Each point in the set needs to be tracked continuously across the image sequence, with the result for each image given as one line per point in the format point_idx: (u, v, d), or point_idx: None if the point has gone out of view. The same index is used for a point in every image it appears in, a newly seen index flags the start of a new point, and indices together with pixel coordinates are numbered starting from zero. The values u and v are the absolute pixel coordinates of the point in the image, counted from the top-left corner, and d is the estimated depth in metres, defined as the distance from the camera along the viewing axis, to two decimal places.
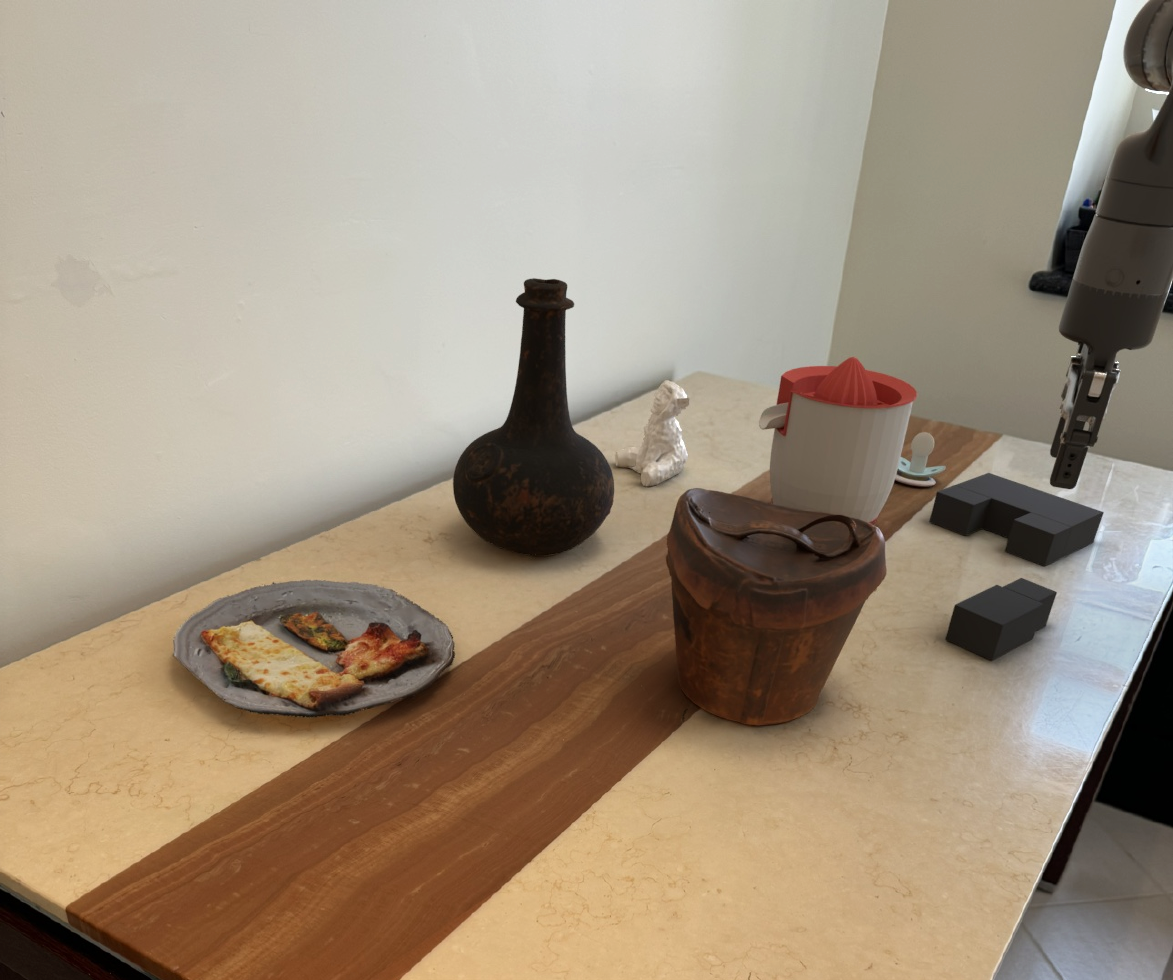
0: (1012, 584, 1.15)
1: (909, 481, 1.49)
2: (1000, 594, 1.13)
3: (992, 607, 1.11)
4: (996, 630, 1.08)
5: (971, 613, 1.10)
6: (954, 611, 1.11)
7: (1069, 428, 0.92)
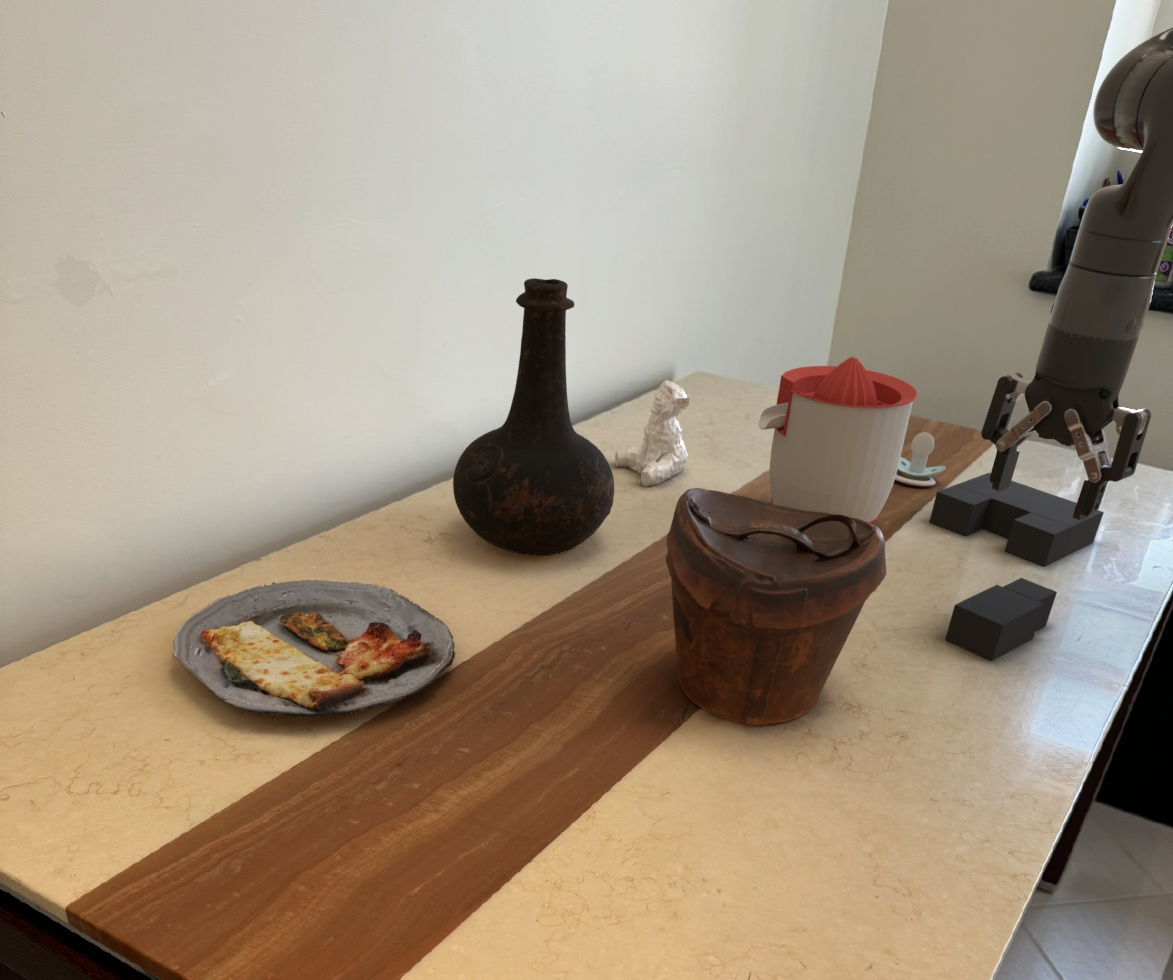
0: (1012, 584, 1.15)
1: (909, 481, 1.49)
2: (1000, 594, 1.13)
3: (992, 607, 1.11)
4: (996, 630, 1.08)
5: (971, 613, 1.10)
6: (954, 611, 1.11)
7: (1125, 468, 0.97)
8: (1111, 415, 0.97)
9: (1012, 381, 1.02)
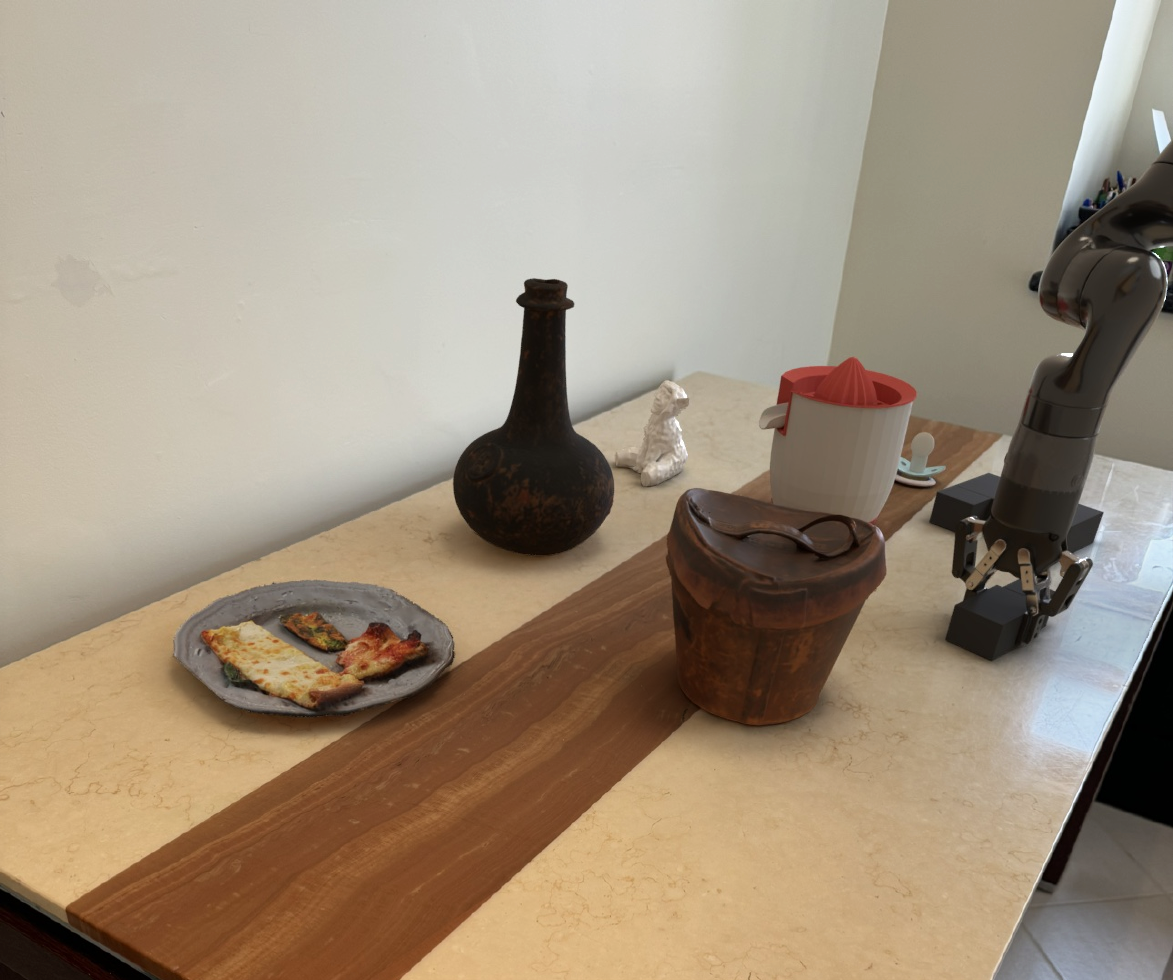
0: (1012, 584, 1.15)
1: (909, 481, 1.49)
2: (1000, 594, 1.13)
3: (992, 607, 1.11)
4: (996, 630, 1.08)
5: (971, 613, 1.10)
6: (954, 611, 1.11)
7: (1060, 608, 1.07)
8: (1059, 555, 1.05)
9: (969, 524, 1.11)
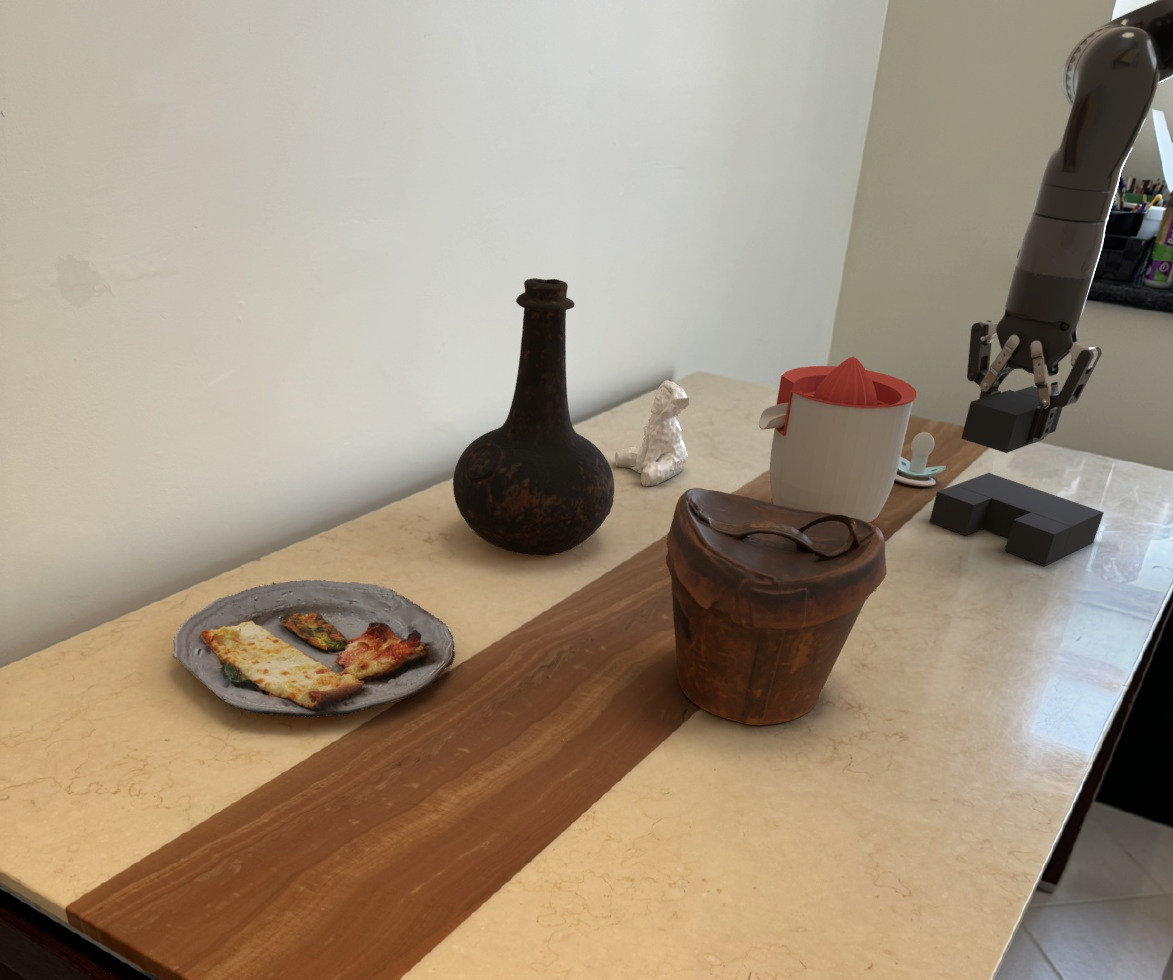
0: (1024, 390, 1.22)
1: (909, 481, 1.49)
2: (1013, 396, 1.20)
3: (1005, 403, 1.17)
4: (1010, 421, 1.15)
5: (986, 407, 1.16)
6: (970, 408, 1.18)
7: (1070, 397, 1.13)
8: (1070, 345, 1.12)
9: (983, 326, 1.18)
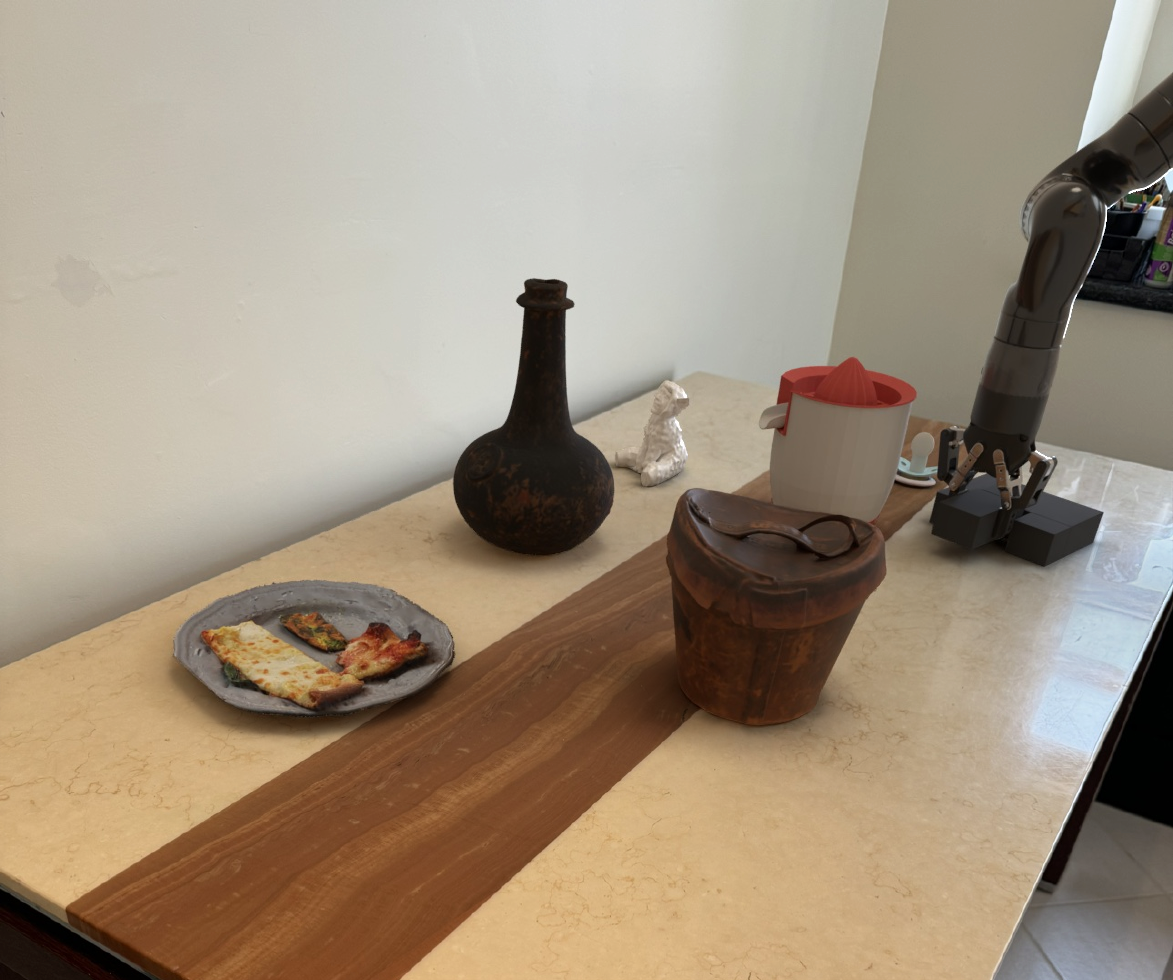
0: (990, 488, 1.32)
1: (909, 481, 1.49)
2: (979, 494, 1.30)
3: (971, 503, 1.27)
4: (974, 522, 1.25)
5: (953, 508, 1.26)
6: (938, 507, 1.28)
7: (1029, 501, 1.23)
8: (1029, 455, 1.22)
9: (951, 432, 1.28)
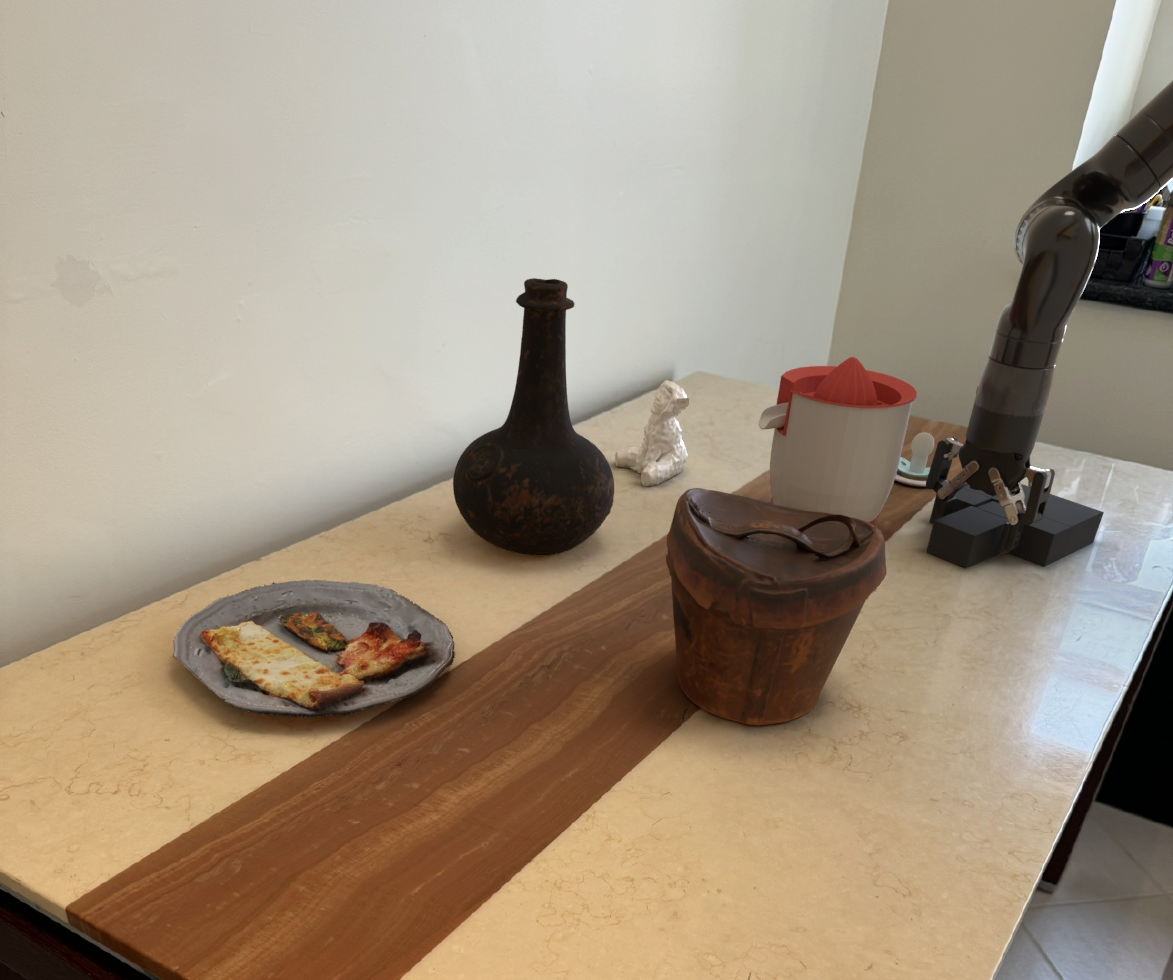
0: (985, 506, 1.33)
1: (909, 481, 1.49)
2: (974, 513, 1.31)
3: (966, 522, 1.29)
4: (969, 541, 1.26)
5: (948, 527, 1.28)
6: (934, 526, 1.29)
7: (1035, 514, 1.23)
8: (1024, 473, 1.23)
9: (948, 444, 1.29)
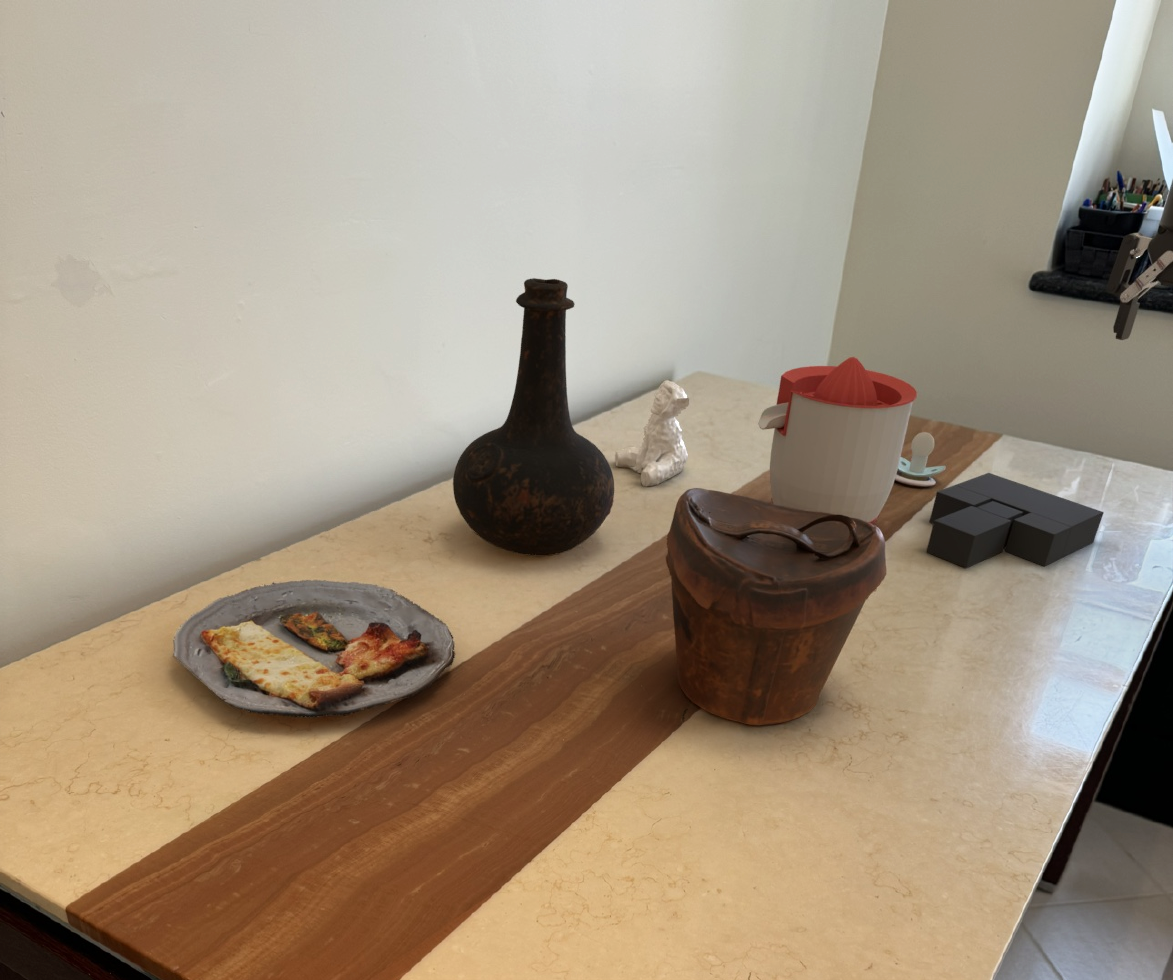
0: (985, 506, 1.33)
1: (909, 481, 1.49)
2: (974, 513, 1.31)
3: (966, 522, 1.29)
4: (969, 541, 1.26)
5: (948, 527, 1.28)
6: (934, 526, 1.29)
7: None
8: None
9: (1136, 239, 1.18)
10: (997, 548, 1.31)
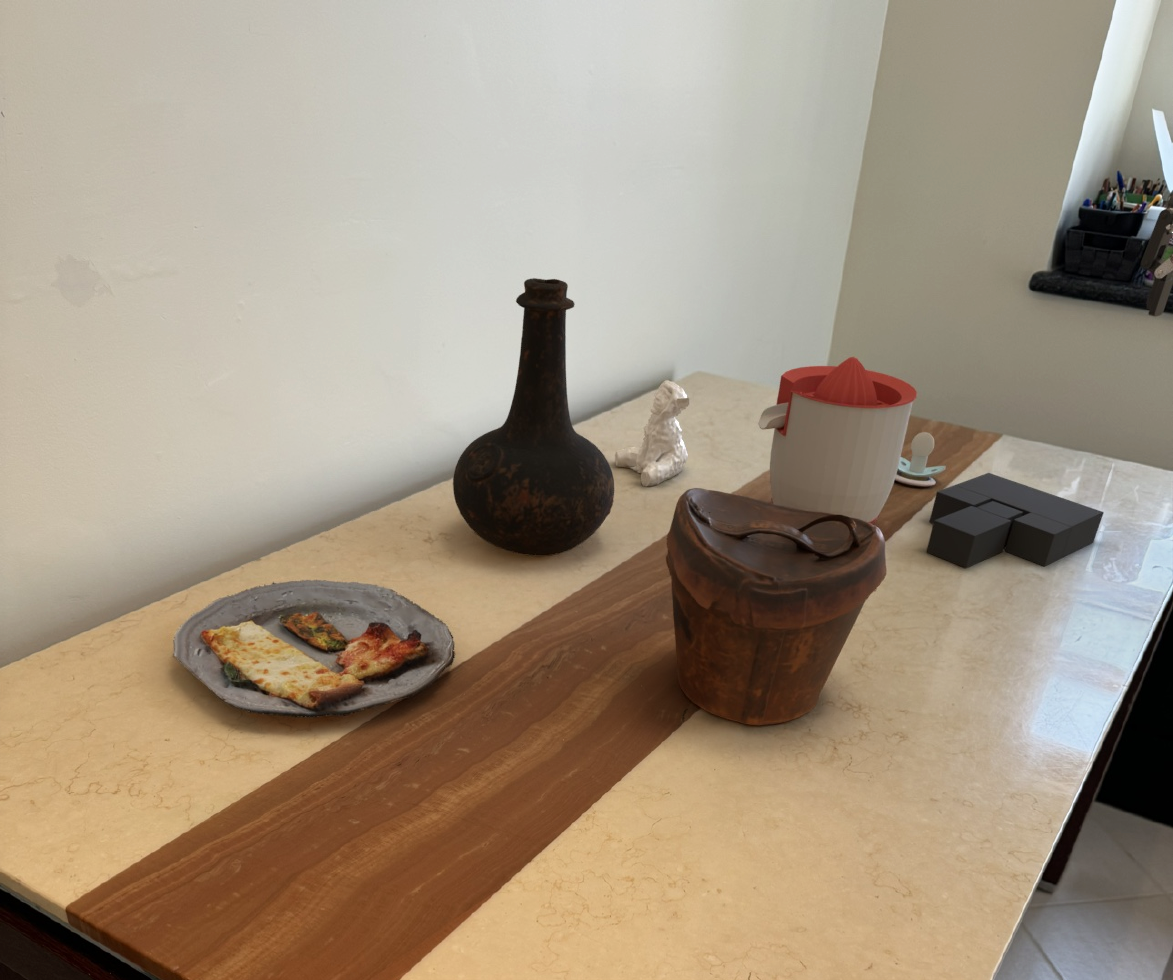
0: (985, 506, 1.33)
1: (909, 481, 1.49)
2: (974, 513, 1.31)
3: (966, 522, 1.29)
4: (969, 541, 1.26)
5: (948, 527, 1.28)
6: (934, 526, 1.29)
7: None
8: None
9: (1172, 214, 1.18)
10: (997, 548, 1.31)
